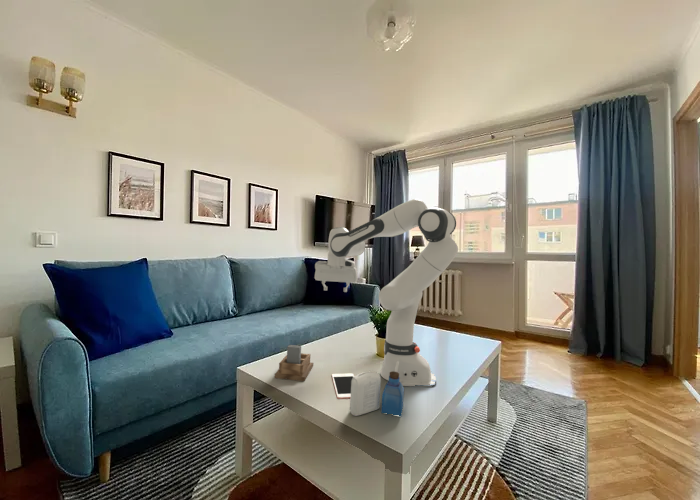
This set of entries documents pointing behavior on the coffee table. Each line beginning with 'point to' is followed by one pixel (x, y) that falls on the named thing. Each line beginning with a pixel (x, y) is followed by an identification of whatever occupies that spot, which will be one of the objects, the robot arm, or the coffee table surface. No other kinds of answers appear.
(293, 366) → the box
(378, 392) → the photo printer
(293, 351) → the charcoal card
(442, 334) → the coffee table surface
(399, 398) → the perfume bottle
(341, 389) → the cell phone
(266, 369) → the coffee table surface
